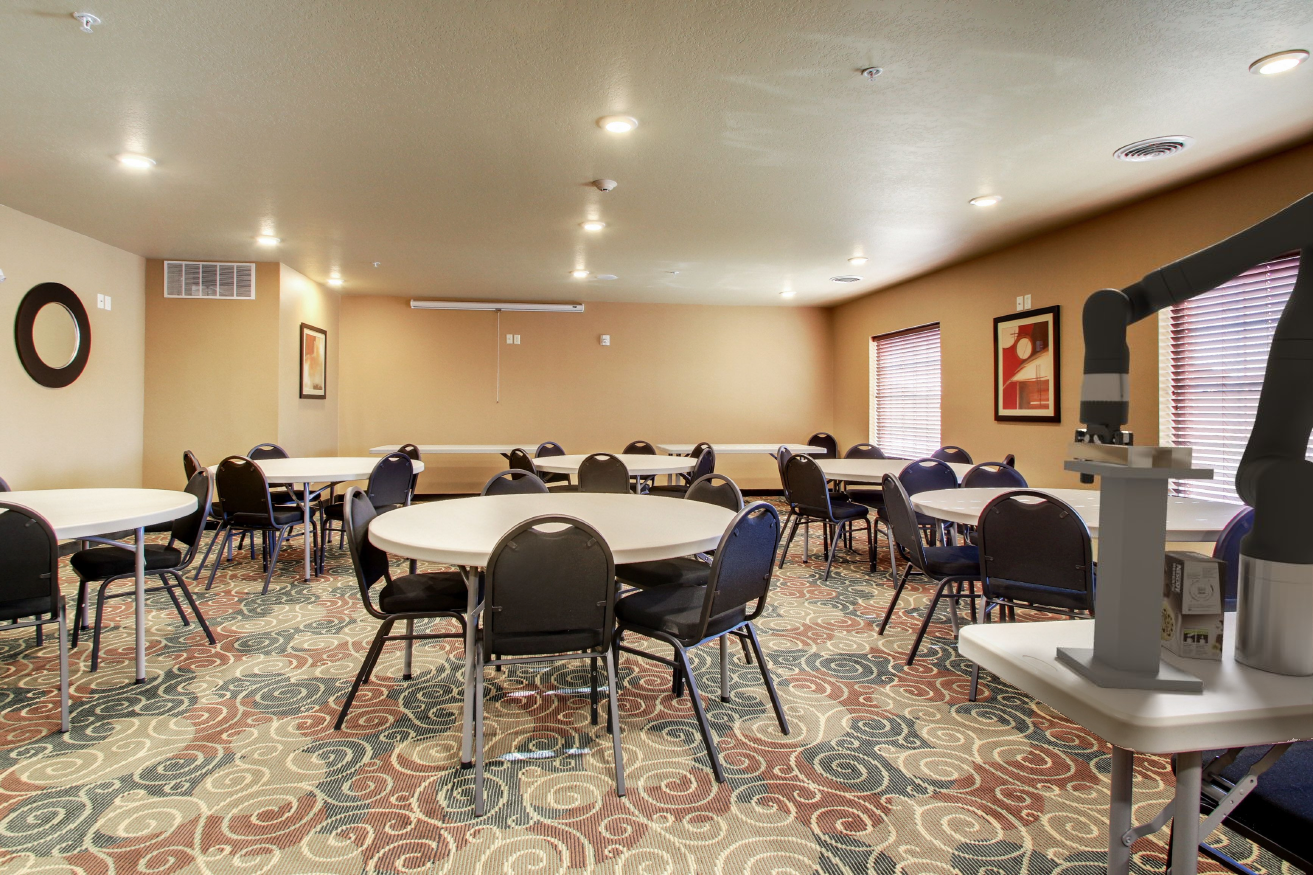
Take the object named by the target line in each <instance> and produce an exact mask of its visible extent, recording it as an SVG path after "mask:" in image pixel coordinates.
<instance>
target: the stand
mask: <svg viewBox="0 0 1313 875" xmlns="http://www.w3.org/2000/svg"><path fill="white" fill-rule="evenodd" d="M1127 466H1128V465H1127V464H1119V463H1111V462H1103V461H1078V460H1064V461H1063V470H1064V471H1068V472H1075V473H1079V474H1080V473H1086V474H1092V475H1094V476H1100V487H1099V488H1100V489H1099V511H1098V512H1099V513H1098V514H1099V517H1098V534H1097V535H1098V537H1097V554H1096V556H1097V558H1096V576H1095V577H1096V579H1095V580H1096V583H1095V584H1096V585H1095V602H1094V603H1095V606H1094V607H1095V609H1094V623H1093V624H1094V626H1093V627H1094V628H1093V648H1090V647H1089V648H1087V647H1086V648H1085V647H1064V646H1063V647H1059V646H1056V650H1055V651H1056V654H1055V655H1056V656H1055V657H1056V658H1058V659H1059V660H1061V661H1063V662H1064V663H1065V664H1066V665H1068V666H1070V667H1071V668H1072V669H1074V670H1075V671H1077V672H1078V673H1079V674H1081V675H1082V676H1084V677H1085V678H1087V679H1088V680H1090V681H1091V682H1092V683H1094V684H1095V685H1097V686H1098V687H1100V688H1111V689H1113V688H1114V689H1115V688H1116V689H1133V690H1134V689H1136V690H1138V689H1139V690H1153V691H1154V690H1156V691H1159V690H1160V691H1181V692H1202V693H1203V692H1204V680H1202V679H1200V678H1198V677H1197V676H1194V675H1192V674H1190V673H1189V672H1187V671H1185V670H1183V669H1181V668H1180V667H1178V666H1176V665H1174V664H1172V663H1170V662H1169V661H1167V660H1165V659H1163V658H1161V649H1162V648H1161V646H1162V645H1161V627H1162V606H1163V584H1164V563H1165V551H1166V539H1167V538H1166V537H1167V521H1168V520H1167V517H1168V498H1169V497H1168V495H1169V480H1170V479H1173V480H1174V479H1175V480H1214V474H1215V469H1214V468H1208V467H1207V468H1206V467H1198V466H1192V467H1191V469H1190V468H1141V467H1127Z"/></svg>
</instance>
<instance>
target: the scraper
mask: <svg viewBox="0 0 1313 875" xmlns="http://www.w3.org/2000/svg"><path fill="white" fill-rule="evenodd" d="M1066 457H1067V458H1073V459H1074V458H1079V459H1087V460H1095V461H1103V462H1111V463H1119V464H1127V465H1128V466H1127V467H1141V468H1190V469H1191V467H1193V464H1192V462H1193V447H1192V446H1161V445H1160V446H1157V445H1155V446H1154V445H1152V446H1150V445H1147V446H1146V445H1133V446H1120V445H1108V444H1096V443H1084V442H1074V441H1068V442H1067V454H1066Z"/></svg>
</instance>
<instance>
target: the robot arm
mask: <svg viewBox="0 0 1313 875" xmlns="http://www.w3.org/2000/svg"><path fill="white" fill-rule="evenodd" d="M1296 250H1300V253H1299V262H1298V268H1297V269H1298V270H1297V275H1296V278H1295V279H1296V280H1295V283H1294V286H1293V288H1292V291H1291V293H1290V296H1289V297H1288V300H1287V302H1286V303H1285V305H1284V308H1283V310H1282V312H1281V314H1280V317H1279V319H1278V322H1277V324H1276V327H1275V329H1274V333H1273V336H1272V338H1271V343H1270V348H1269V353H1268V355H1267V356H1268V357H1267V360H1266V361H1267V362H1266V366H1265V373H1264V375H1263V376H1264V377H1263V381H1262V382H1263V383H1262V387H1261V390H1260V394H1259V400H1258V402H1257V403H1258V404H1257V409H1256V413H1255V414H1256V415H1255V419H1254V423H1253V427H1252V429H1251V432H1250V435H1249V437H1248V438H1249V439H1248V441H1247V444H1246V445H1245V448H1244V451H1243V454H1242V456H1241V459H1240V461H1239V464H1238V467H1237V469H1236V474H1235V477H1234V487H1235V488H1234V489H1235V492H1236V494H1237V496H1238V497H1239V499H1240V500H1241V501H1242V502H1243V503H1244V505H1247V506H1248V507H1250V508H1252V509H1254V511H1253V519H1252V520H1253V521H1252V526H1251V529H1250V530H1249V531H1248V533H1246V534H1244V535H1242V536H1241V538H1240V540H1239V554H1238V555H1239V557H1238V558H1239V560H1238V580H1237V598H1236V611H1235V612H1236V615H1235V616H1236V617H1235V634H1234V635H1235V636H1234V651H1233V652H1234V653H1233V655H1234V656H1233V658H1234V659H1235V660H1236V661H1238V662H1240V663H1241V664H1244V665H1245V666H1249V667H1252V668H1255V669H1259V670H1263V671H1266V672H1271V673H1276V674H1281V675H1288V676H1301V677H1303V676H1311V675H1313V461H1311V460H1309V459H1308V460H1307V459H1306V455H1307V450H1308V445H1309V440H1310V437H1311V433H1312V430H1313V191H1312V192H1310V193H1309V194H1307V195H1306V196H1304V197H1301V198H1300V199H1298V200H1296V201H1295V202H1293V203H1291V204H1290V205H1288V206H1287V207H1284V208H1283V209H1281V210H1279V211H1278V212H1276V213H1274V214H1272V215H1271V216H1269V217H1267V218H1265V219H1263V220H1261V221H1259V222H1257V223H1255V224H1254V225H1253V224H1252V225H1251V226H1250V227H1247V228H1246V229H1244V230H1241V231H1239V232H1238V233H1235V234H1233V235H1231V236H1228V237H1227V238H1225V239H1223V240H1220V241H1218V242H1216V243H1214V244H1212V245H1210V246H1207V247H1205V248H1202V249H1200V250H1198V251H1196V252H1193V253H1191V254H1189V255H1186V256H1185V257H1181V258H1179V259H1177V260H1174V261H1172V262H1170V263H1167V264H1165V265H1162V266H1161V267H1158V268H1156V269H1154V270H1152V271H1150V272H1148V273H1146V274H1145V275H1144V276H1143V278H1142V279H1141V280H1139V281H1137V282H1135V283H1132V284H1130V285H1128V286H1126V287H1124V288H1122V289H1120V290H1119V289H1115V288H1101V289H1099V290H1096V291H1094V292H1093V293H1092V294H1090V295H1089V297H1087V298H1086V301H1085V302H1084V304H1083V308H1082V316H1081V322H1082V334H1083V335H1082V336H1083V343H1084V356H1083V372H1082V380H1081V381H1082V382H1081V386H1080V400H1079V401H1080V402H1079V419H1078V420H1079V424H1081V425H1086V428H1084V429H1083V428H1082V429H1078V428H1077V429H1076V430H1075V431H1074V441H1073V442H1084V443H1096V444H1108V445H1120V446H1134V432H1133V431H1121V426H1126V425H1127V424H1128V423H1129V414H1130V413H1129V412H1130V411H1129V410H1130V409H1129V408H1130V393H1131V392H1130V391H1131V385H1130V375H1129V374H1130V362H1131V361H1130V360H1131V357H1130V356H1131V354H1130V347H1129V345H1128V342H1127V330H1128V329H1127V327H1129V326H1132V325H1134V324H1136V323H1138V322H1140V321H1142V320H1144V319H1146V318H1148V317H1150V316H1151V315H1153V314H1155V313H1157V312H1159V311H1161V310H1163V309H1166V308H1169V307H1173V306H1175V305H1177V304H1180V303H1183V302H1186V301H1188V300H1190V299H1192V298H1196V297H1198V296H1201V295H1203V294H1205V293H1209V292H1211V291H1212V290H1214V289H1217V288H1219V287H1220V286H1222V285H1224V284H1226V283H1228V282H1230V281H1232V280H1234V279H1235V278H1237V277H1239V276H1241V275H1243V274H1244V273H1246V272H1248V271H1249V270H1252V269H1254V268H1256V267H1258V266H1259V265H1261V264H1263V263H1266V262H1268V261H1270V260H1273V259H1275V258H1277V257H1279V256H1282V255H1285V254H1287V253H1290V252H1292V251H1293V252H1294V251H1296ZM1073 460H1074V461H1095V460H1087V459H1079V458H1073ZM1079 475H1080V476H1079V482H1080V483H1081V484H1084V485H1085V484H1086V485H1093V484H1094V483H1095V482H1094V481H1095V475H1092V474H1086V473H1080V472H1079Z"/></svg>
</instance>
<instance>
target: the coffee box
mask: <svg viewBox="0 0 1313 875" xmlns="http://www.w3.org/2000/svg"><path fill="white" fill-rule="evenodd" d="M1227 568H1228V561H1225V560H1222V559H1218V558H1216V557H1211V556H1210V555H1207V554H1203V553H1200V552H1196V551H1190V550H1165V563H1164V584H1163V606H1162V627H1161V646H1162V645H1163V646H1162V647H1164V648H1166V649H1167V650H1169V651H1170V652H1172V653H1173V654H1175V655H1178V656H1179V657H1182V658H1192V659H1193V658H1194V659H1205V660H1215V661H1222V659H1223V650H1224V649H1223V647H1224V646H1223V644H1224V632H1225V629H1224V628H1225V613H1226V612H1225V609H1226V607H1225V606H1226V591H1227V590H1226V589H1227V572H1228V571H1227V570H1228V569H1227Z"/></svg>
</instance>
